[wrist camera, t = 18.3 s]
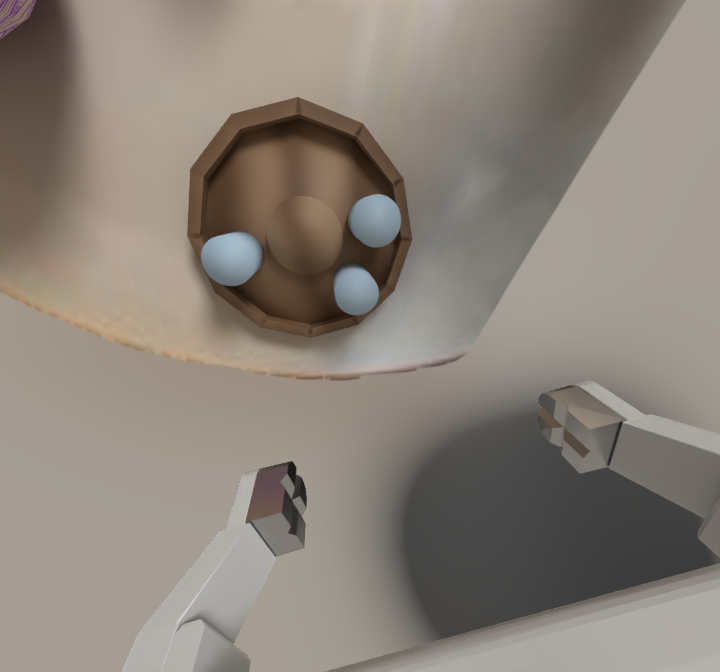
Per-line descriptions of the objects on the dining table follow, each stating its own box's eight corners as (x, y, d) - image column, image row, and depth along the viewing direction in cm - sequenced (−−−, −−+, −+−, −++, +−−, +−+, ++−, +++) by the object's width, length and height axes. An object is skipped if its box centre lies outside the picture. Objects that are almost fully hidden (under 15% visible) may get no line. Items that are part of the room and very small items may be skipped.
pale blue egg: (373, 293, 30) (382, 308, 25) (338, 303, 30) (341, 320, 25) (365, 257, 28) (373, 266, 24) (328, 268, 28) (329, 279, 24)
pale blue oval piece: (383, 192, 26) (396, 188, 21) (391, 235, 28) (404, 240, 23) (342, 203, 26) (347, 201, 21) (353, 245, 27) (359, 252, 23)
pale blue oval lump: (255, 226, 26) (241, 229, 21) (271, 267, 27) (261, 279, 23) (214, 237, 26) (191, 243, 21) (232, 278, 27) (215, 291, 23)
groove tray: (382, 86, 23) (388, 73, 21) (415, 300, 32) (421, 307, 30) (156, 144, 23) (139, 137, 21) (251, 345, 32) (246, 355, 30)
